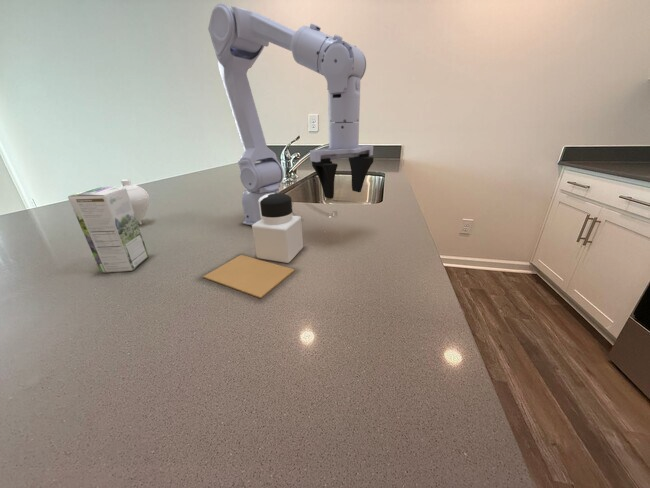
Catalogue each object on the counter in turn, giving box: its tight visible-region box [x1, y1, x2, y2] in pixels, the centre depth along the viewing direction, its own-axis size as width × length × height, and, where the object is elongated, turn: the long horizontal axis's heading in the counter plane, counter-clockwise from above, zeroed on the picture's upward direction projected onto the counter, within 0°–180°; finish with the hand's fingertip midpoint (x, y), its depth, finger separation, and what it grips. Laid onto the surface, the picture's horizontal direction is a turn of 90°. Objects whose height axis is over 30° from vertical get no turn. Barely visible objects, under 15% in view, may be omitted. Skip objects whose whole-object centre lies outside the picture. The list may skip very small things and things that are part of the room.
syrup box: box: [67, 186, 149, 274], centre depth 46 cm, size 6×6×14 cm
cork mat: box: [202, 254, 295, 299], centre depth 45 cm, size 13×9×1 cm
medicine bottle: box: [251, 192, 304, 264], centre depth 50 cm, size 7×7×12 cm
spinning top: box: [120, 179, 151, 225], centre depth 67 cm, size 8×8×12 cm
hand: (343, 194), depth 54 cm, fingers open, 7 cm apart
